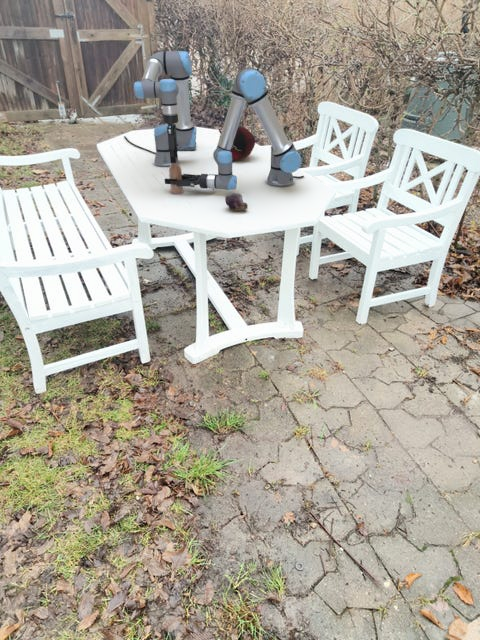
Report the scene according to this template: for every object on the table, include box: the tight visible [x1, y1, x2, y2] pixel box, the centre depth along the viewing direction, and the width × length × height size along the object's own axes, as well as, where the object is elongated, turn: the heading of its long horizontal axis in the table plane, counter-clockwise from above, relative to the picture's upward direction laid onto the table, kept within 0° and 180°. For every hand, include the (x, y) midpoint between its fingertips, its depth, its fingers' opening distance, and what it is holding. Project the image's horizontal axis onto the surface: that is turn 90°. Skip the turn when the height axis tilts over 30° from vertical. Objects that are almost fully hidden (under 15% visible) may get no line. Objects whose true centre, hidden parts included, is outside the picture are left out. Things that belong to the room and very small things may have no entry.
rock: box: [224, 192, 249, 212], centre depth 223 cm, size 12×9×10 cm
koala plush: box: [177, 142, 197, 151], centre depth 321 cm, size 17×18×20 cm
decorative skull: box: [218, 125, 256, 161], centre depth 298 cm, size 21×24×25 cm
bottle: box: [168, 162, 184, 195], centre depth 243 cm, size 7×7×18 cm
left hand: (174, 160), depth 239 cm, fingers open, 6 cm apart
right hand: (167, 179), depth 245 cm, fingers closed on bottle, 7 cm apart
